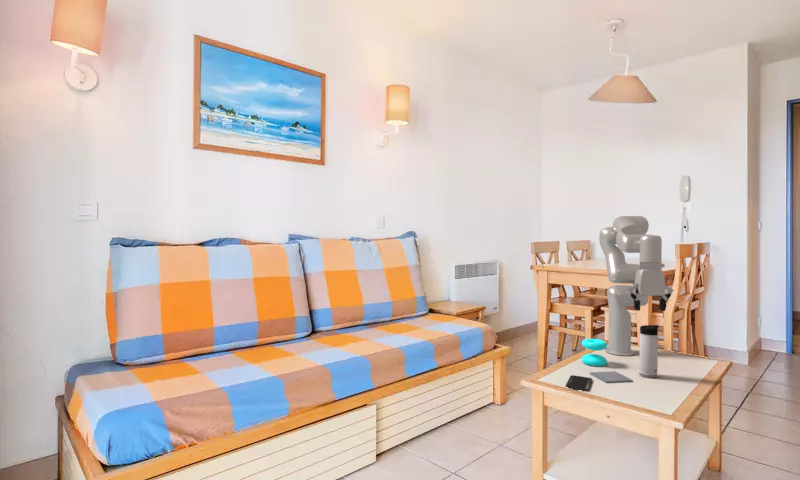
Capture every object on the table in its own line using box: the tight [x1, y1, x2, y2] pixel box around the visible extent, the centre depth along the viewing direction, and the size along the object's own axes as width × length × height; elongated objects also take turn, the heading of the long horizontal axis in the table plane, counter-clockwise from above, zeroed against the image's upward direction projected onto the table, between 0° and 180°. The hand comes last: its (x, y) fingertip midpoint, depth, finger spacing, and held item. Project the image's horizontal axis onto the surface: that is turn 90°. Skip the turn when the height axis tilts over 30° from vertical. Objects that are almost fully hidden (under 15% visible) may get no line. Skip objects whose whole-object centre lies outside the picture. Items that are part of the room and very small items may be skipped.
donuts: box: [581, 338, 608, 367], centre depth 196 cm, size 10×10×10 cm
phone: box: [565, 375, 593, 392], centre depth 170 cm, size 8×1×15 cm
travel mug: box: [638, 324, 660, 379], centre depth 179 cm, size 6×7×20 cm
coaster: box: [589, 370, 634, 384], centre depth 177 cm, size 11×11×1 cm
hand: (649, 310), depth 179 cm, fingers open, 9 cm apart
